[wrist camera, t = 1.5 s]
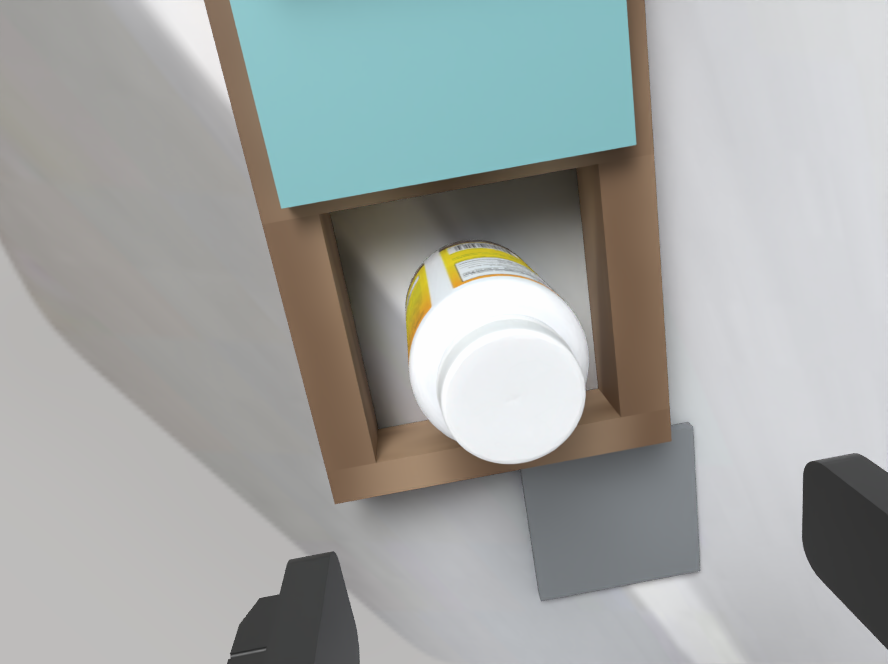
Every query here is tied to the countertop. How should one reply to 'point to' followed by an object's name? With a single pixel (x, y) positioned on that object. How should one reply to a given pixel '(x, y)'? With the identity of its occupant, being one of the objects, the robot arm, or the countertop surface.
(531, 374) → the supplement bottle
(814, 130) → the countertop surface
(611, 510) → the slate pad
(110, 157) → the countertop surface
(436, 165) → the sliding cover
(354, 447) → the wooden frame
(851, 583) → the robot arm
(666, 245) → the countertop surface
